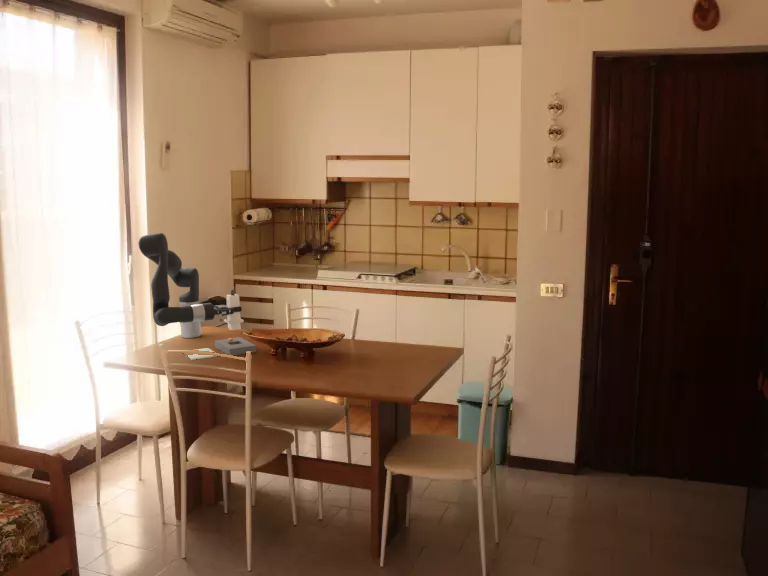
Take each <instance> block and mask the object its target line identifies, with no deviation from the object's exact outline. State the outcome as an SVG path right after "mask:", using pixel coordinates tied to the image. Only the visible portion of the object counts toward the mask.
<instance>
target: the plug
mask: <svg viewBox="0 0 768 576" xmlns="http://www.w3.org/2000/svg"><path fill="white" fill-rule="evenodd" d="M225 296H226V298H225V299H226V305H227V307H241V305H240V304H241V303H240V302H241V301H240V295H239V294H238V293H235V289H230V294H226V295H225ZM229 312H231V310H229ZM226 317H227V318H225V319H224V323H226V324H227V329H228V330H231V331H236V330H242V327H241V324H242V323H244V321H245V320H244V319H242V318H241V312H234V314H230V315H226Z"/></svg>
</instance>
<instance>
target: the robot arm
mask: <svg viewBox="0 0 768 576" xmlns="http://www.w3.org/2000/svg"><path fill="white" fill-rule="evenodd" d="M167 239H168V238H167V237H166V235H165V233H163V232H157V233H152V234H145V235H143V236H141V237H139V239H138V242H137V243H138V244H137V245H138V249H139V250H140V253H141V254H142V255H143V256H144V257H145V258H146V259H149V260H150V261H152V262H153V263H155V265H157V267H156V270H155V272H154V275H153V276H152V279H151V283H150V284H151V285H150V287H151V296H152V317H153V320H154V321H153V322H154V323H155V325H157V326H159V327H165V326H167V325H170V324H173V323H180V333H181V338H185V339H191V338H199V337H200V336H202V328H201V322H206V321H213V320H214V319H215V316H216V315H217V316H218V317H219V316H222V317H224V316H227V315H230V314H234V312H240V313H241V312H242V311H243V309H242V306H240V307H227V304H218V305H217V304H216V305H215V304H213V303H212V302H205V303H200V274H199V271H198V269H197V268H196V267H182V264H183V263H182V260H181V258H180V256H178V254H176V253H175V252H174V251H172V250H170V249H169V246H168V240H167ZM168 277H169V278H171V280H172V281H173V282H174V284H175V285H176V286H177V287H180V288H189V291H188V292H186V293H183V294H180V295H179V297H178V302H179V306H170V305H169V302H170V298H171V297H170V296H171V295H170V289H169V288H170V287H169V278H168ZM229 310H231V312H229Z"/></svg>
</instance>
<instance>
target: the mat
mask: <svg viewBox="0 0 768 576" xmlns="http://www.w3.org/2000/svg"><path fill="white" fill-rule="evenodd" d="M194 350H199V351H209V352H215V351H214V350H212V349H211V348H208V347H204V348H198V349H194ZM188 357H189V358H190V360H191V361H197V360H204V359H209V358H211V359H212V358H217V356H213V355H198V354H193V355H188ZM188 357H187V358H188ZM189 358H188V359H189ZM196 359H197V360H196Z"/></svg>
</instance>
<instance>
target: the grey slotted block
mask: <svg viewBox="0 0 768 576" xmlns="http://www.w3.org/2000/svg"><path fill="white" fill-rule="evenodd" d="M214 347H215V348H216V349H218V350H220V351H221V352H223V353H224V354H226V355H228V354H231V355H233V356H239V355H245V353H246V351H252V353H253V354H254V353H257V345H256V344H255V343H252V342H250V341H249V340H246V339H245V338H242V337H241V336H239V337H228V338H224V339H218V340H214ZM252 353H251V354H252ZM246 354H247V353H246Z"/></svg>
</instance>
